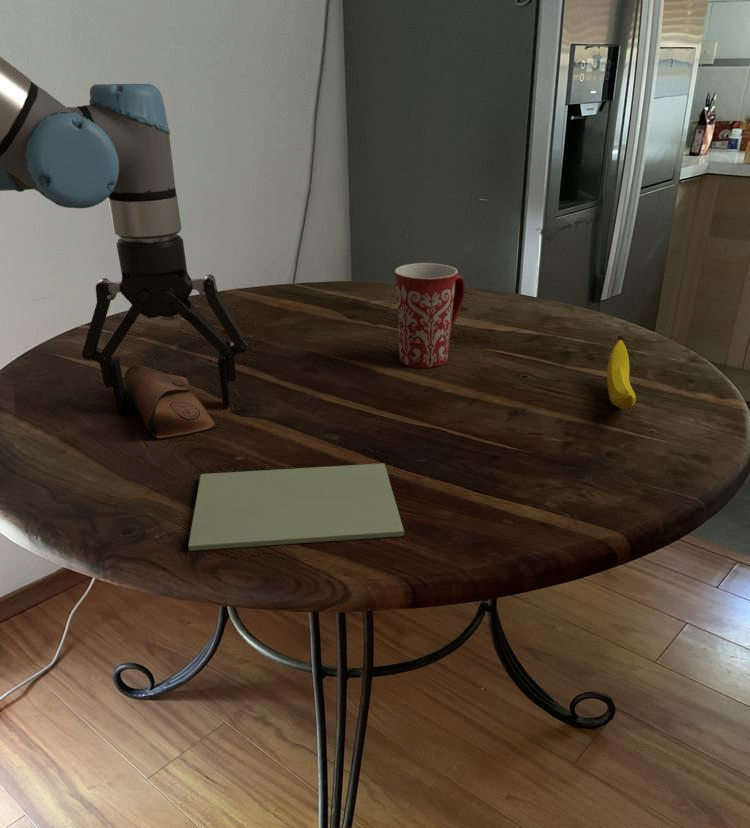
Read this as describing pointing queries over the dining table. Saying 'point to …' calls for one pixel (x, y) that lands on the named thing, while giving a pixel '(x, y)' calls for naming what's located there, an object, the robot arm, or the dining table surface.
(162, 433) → the sunglasses case
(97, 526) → the dining table surface
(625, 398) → the banana
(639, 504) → the dining table surface
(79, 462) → the dining table surface
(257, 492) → the mat
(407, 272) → the mug
